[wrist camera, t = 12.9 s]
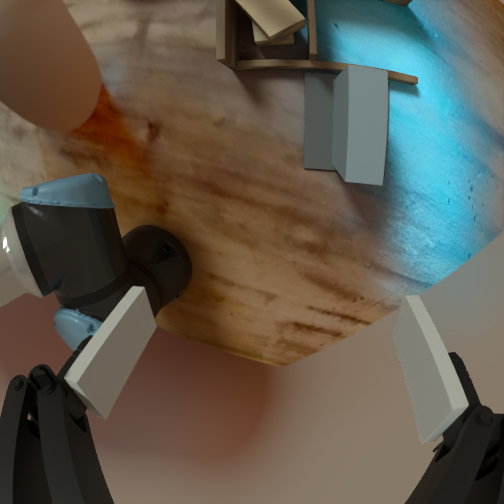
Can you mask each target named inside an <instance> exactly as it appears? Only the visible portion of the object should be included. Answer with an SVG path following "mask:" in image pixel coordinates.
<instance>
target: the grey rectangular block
mask: <svg viewBox="0 0 504 504" xmlns="http://www.w3.org/2000/svg"><path fill="white" fill-rule="evenodd" d="M387 119H388V71H386V70H381V69H375V68H369V67H363V66H356V65H347V66H346V67H345V69H344V70H343V71H342V72H341V73H340V74H339V75H338V76H337V77H336V79H335V80H334V81H333V145H332V164H333V166H334V167H335V169H336V170H337V171H338V173H339V174H340V175H341V177H342V178H343V180H344V181H345V182H353V183H363V184H373V185H381V186H382V185H383V176H384V166H385V155H386V140H387Z"/></svg>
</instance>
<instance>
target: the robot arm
mask: <svg viewBox="0 0 504 504" xmlns="http://www.w3.org/2000/svg"><path fill="white" fill-rule="evenodd" d="M19 198H20V201H22V202H21V203H19V204H17V205H14V206H12V207H10V208H9V210H8V212H7V215H6V217H5V220H4V222H3V224H2V225H1V226H0V307H1V306H3V305H5V304H6V303H8V302H10V301H12V300H13V299H15V298H17V297H18V296H20V295H22V294H23V293H31V294H33V295H36V296H38V297H41V298H42V297H44V296H46V295H48V294H50V293H52V292H54V293H55V295H56V297H57V299H58V301H59V304H60V306H61V308H59V309H58V310H57V311H56V314H55V316H54V326H55V329H56V331H57V332H58V334H59V335H60V337H61V338H62V339H63V340H64V342H65V343H66V344H67V345H68V346H69V347H70V348H71V349H72V350H74V352H73V354H72V356H71V357H70V358H69V359H68V361H67V362H66V363H65V365H64V366H63V368H62V369H61V370H60V372H59V373H58V375H57V376H55V374H54V373H53V371H52V370H51V369H50V367H49V366H48V365H45V364H40V365H37V366H35V367H34V368H33V369H32V370H31V371H30V373H29V375H28V379H27V378H26V377H25V376H24V375H17V376H16V377H14V378H13V379H12V380H11V381H10V383H9V386H8V389H7V393H6V397H5V400H4V404H3V408H2V413H1V417H0V504H114V502H113V499H112V497H111V494H110V492H109V489H108V487H107V484H106V481H105V478H104V475H103V473H102V470H101V466H100V464H99V460H98V457H97V454H96V450H95V446H94V443H93V439H92V435H91V431H90V427H89V422H88V418H87V415H86V413H85V411H86V409H87V408H88V410H89V411H90V412H91V413H92V414H93V415H95V416H97V417H100V418H102V419H105V420H106V419H107V417H108V414H109V413H110V411H111V409H112V407H113V405H114V403H115V401H116V399H117V397H118V395H119V394H120V392H121V389H122V388H123V386H124V384H125V382H126V380H127V379H128V377H129V375H130V373H131V371H132V369H133V368H134V366H135V364H136V362H137V360H138V359H139V357H140V355H141V353H142V352H143V350H144V348H145V346H146V344H147V343H148V341H149V339H150V337H151V336H152V334H153V332H154V331H155V329H156V327H157V326H156V323H155V320H154V319H155V317H156V315H157V314H158V312H159V311H160V309H161V308H162V307H164V306H165V305H167V304H168V303H170V302H171V301H173V300H175V299H177V298H178V297H179V296H180V295H181V294H182V293H183V292H184V291H185V289H186V287H187V286H188V284H189V282H190V280H191V275H192V267H191V262H190V258H189V256H188V254H187V252H186V250H185V248H184V247H183V245H182V244H181V243H180V242H179V241H178V240H177V239H176V238H175V237H174V236H173V235H172V234H170V233H169V232H167V231H166V230H164V229H162V228H159V227H156V226H150V225H143V226H139V227H136V228H134V229H132V230H131V231H129V232H128V233H127V234H126V235H125V236H124V237H123V238H122V237H121V234H120V230H119V227H118V223H117V219H116V215H115V210H114V207H115V205H114V203H113V202H112V199H111V195H110V192H109V188H108V185H107V182H106V180H105V178H104V177H103V176H102V175H100V174H97V173H89V174H82V175H76V176H71V177H66V178H61V179H57V180H52V181H48V182H44V183H41V184H37V185H34V186H30V187H27V188H24V189H22V190H21V192H20V197H19ZM392 339H393V342H394V345H395V348H396V351H397V355H398V358H399V361H400V364H401V368H402V371H403V374H404V378H405V381H406V385H407V389H408V392H409V396H410V400H411V404H412V408H413V412H414V416H415V421H416V425H417V430H418V434H419V440H420V444H424V443H428V442H432V441H435V440H437V439H438V438H439V437H440V436H441V434H442V435H443V439H444V440H443V441H442V442H441V443H440V444H439V445H438V446H436V448H435V449H434V450H433V452H435V451H436V450H437V449H438V450H437V452H436V454H435V456H434V457H433V459H432V461H431V463H430V465H429V467H428V468H427V470H426V472H425V473H424V475H423V477H422V478H421V480H420V482H419V483H418V485H417V486H416V488H415V489H414V491H413V492H412V494H411V495H410V497H409V498H408V500H407V501H406V502H405V504H504V414H494V413H493V412H492V410H491V409H490V408H488V407H487V406H483V405H481V403H480V401H479V398H478V395H477V393H476V390H475V388H474V386H473V383H472V381H471V378H469V374H468V372H467V371H466V367H465V365H464V363H463V361H462V359H461V358H460V357H459V356H458V355H457V354H456V353H455V352H451V353H447V350H446V348H445V346H444V344H443V342H442V340H441V338H440V336H439V334H438V332H437V330H436V328H435V326H434V324H433V322H432V320H431V318H430V316H429V314H428V312H427V310H426V309H425V307H424V305H423V303H422V301H421V299H420V298H419V296H418V295H412V296H405V298H404V301H403V305H402V308H401V311H400V314H399V317H398V320H397V323H396V326H395V329H394V332H393V335H392ZM29 381H30V382H31V383H30V382H29ZM28 414H30V416H31V419H30V420H28V419H27V417H28Z"/></svg>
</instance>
